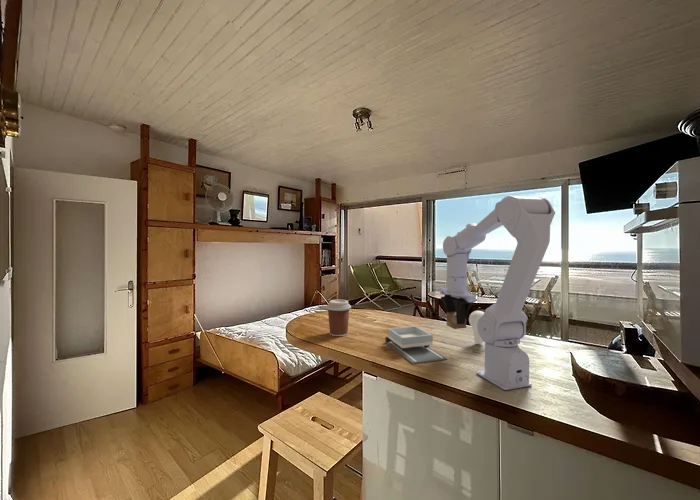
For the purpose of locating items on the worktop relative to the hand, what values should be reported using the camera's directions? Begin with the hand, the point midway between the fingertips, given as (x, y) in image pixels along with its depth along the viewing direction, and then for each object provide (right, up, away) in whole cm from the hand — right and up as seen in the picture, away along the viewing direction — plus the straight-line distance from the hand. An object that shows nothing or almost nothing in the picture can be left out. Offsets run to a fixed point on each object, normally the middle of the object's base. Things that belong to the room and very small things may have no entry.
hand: (456, 321), depth 91 cm
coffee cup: (-36, -9, +19) cm, 42 cm away
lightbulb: (+10, -9, +8) cm, 16 cm away
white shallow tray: (-13, -9, +5) cm, 17 cm away
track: (-12, -9, +2) cm, 16 cm away
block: (0, -2, 0) cm, 2 cm away
